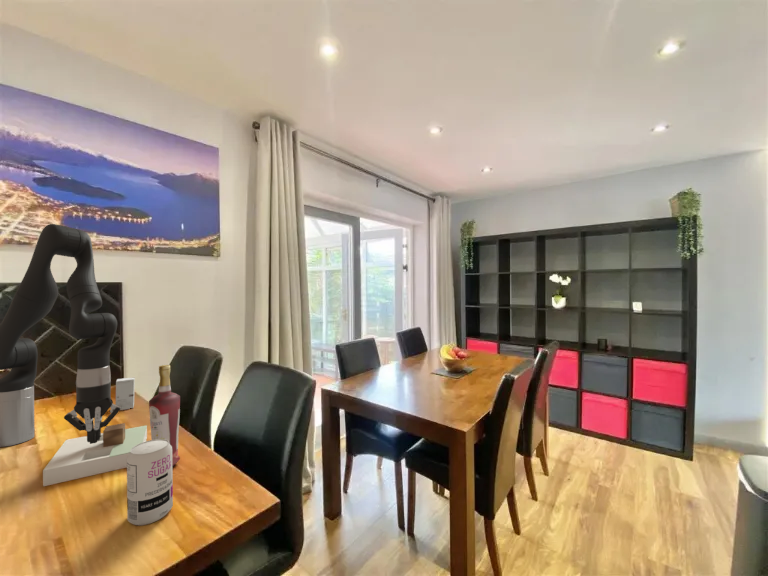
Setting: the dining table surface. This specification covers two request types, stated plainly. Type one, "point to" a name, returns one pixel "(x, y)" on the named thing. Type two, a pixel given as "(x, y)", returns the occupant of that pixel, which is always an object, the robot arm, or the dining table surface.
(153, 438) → the liquor
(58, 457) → the trap plank
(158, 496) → the supplement can
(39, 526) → the dining table surface
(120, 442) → the walnut block
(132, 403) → the skincare box
